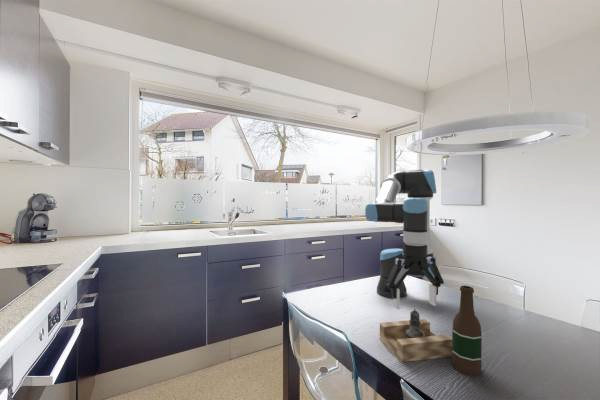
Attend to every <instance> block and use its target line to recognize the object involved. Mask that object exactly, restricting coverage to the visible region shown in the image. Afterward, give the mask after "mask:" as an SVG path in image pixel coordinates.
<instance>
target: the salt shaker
mask: <svg viewBox="0 0 600 400" xmlns="http://www.w3.org/2000/svg"><path fill="white" fill-rule="evenodd" d="M409 314H410V316H409V317H410V318H409V322H410V329H408V330H406V331H405V332H406V335H407V338H418V337H424V334H423V333H422V332H421V331H420V324H421V323H420V321H419V320H420V312H419V311H417V310H416V308H414V309H413V310H411V311H410V313H409Z"/></svg>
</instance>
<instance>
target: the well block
mask: <svg viewBox="0 0 600 400" xmlns="http://www.w3.org/2000/svg"><path fill="white" fill-rule="evenodd" d="M409 320H410V319H409ZM409 320H399V321H397V320H396V321H387V322H379V339H380V340H381V342H382V343H384V345H386V347H387V348H388V349H389V350H390V351H391V352H392V353H393V354H394V356H395V357H396V358H397V359H398V360H399V361H400V362H401V363H405V362H406V363H407V362H414V361H415V362H416V361H423V360H433V359H441V358H442V359H443V358H449V357H450V358H452V336H450V335H449V334H441V335H437V334H435V333H434V332H432V331H431V322H430V321H428V320H427V319H426V318H422V319H420V318H419V321H420V323H421V324H420V331H421V332H422V333H423V334H424V337H418V338H407V335H406V332H405V331H406V330H408V329H410V322H409Z"/></svg>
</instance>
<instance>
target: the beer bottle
mask: <svg viewBox="0 0 600 400" xmlns="http://www.w3.org/2000/svg"><path fill="white" fill-rule="evenodd" d="M459 291H460V302H459V308H458V309H459V310H458V312H457V313H456V314H455V316H454V318H453V319H452V331H451V333H452V336H451V337H452V356H451V360H452V366H453V368H455V369H456V370H457V371H458V372H460V374H464V375H467V376H471V377H474V376H475V377H476V376H481V374H482V361H483V360H482V353H483V352H482V351H483V350H482V346H483V345H482V343H483V342H482V341H483V340H482V338H483V337H482V327H481V323H480V321H479V319H478V318H477V316H476V315H475V308H474V295H473V294H474V293H475V291H474V288H473V286H469V285H460V288H459Z"/></svg>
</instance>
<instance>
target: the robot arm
mask: <svg viewBox="0 0 600 400" xmlns="http://www.w3.org/2000/svg"><path fill="white" fill-rule="evenodd" d="M379 186H380V188H379V189H380V190H379V192H378V194H377V196H376V199H375V201H373V202H367V203H366V205H365V210H364V211H365V212H364V215H365V219H366V221H368V222H375V223H400V224H401V223H402V225H403V228H402V230H403V232H402V233H403V235H402V239H403V245H402V248H387V249H383V250H382V251H380V255H379V256H380V257H379V266H380V267H379V276H380V277H379V280H378V283H377V287H376V293H377V294H378V295H380V296H383V297H385V298H386V297H387V298H391V299H392V300H393V301H392V302H393V303H392V305H393V306H392V307H394V308H395V309H397V310H400V309H401V308H400V305H401V304H400V302H401V301H400V300H401V299H403V298H406V297H407V296H408V295H407V294H408V292H407V287H406V284H405V279H406V277H407V276H409V277H418V278H422V279H423V278H426V279H428V281H429V282H430V283H431V284H430V283H429V284H428V285H429V286H428V287H429V288H428V289H429V293H428V295H429V296H428V300H429V301H428V303H429V304H430V305H432V306H434V307H437V296H439V295H438V294H439V288H441V287H442V285H443V284H444V283H445V281H444V279H443V277H442V275H441V272H440V270H439V268H438V266H437V263H436V259H437V255H436V254H434V251H433V250H432V249H431V248H430V229H431V228H430V227H431V226H430V224H431V223H430V216H431V215H430V211H431V210H430V205H431V204H430V202H431V200H432V199H433V198H434V195H435V194H437V185H436V179H435V173H434V171H433V170H431V169H409V170H408V169H407V170H398V171H395V172H392V173H390V174H389V175H387V176H385V177H384V178H383V179H382V180H381V183H380V185H379ZM398 194H403V195H404V194H407V198H404V199H403V202H395V201H396V199H397V198H396V197H397V195H398Z"/></svg>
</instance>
